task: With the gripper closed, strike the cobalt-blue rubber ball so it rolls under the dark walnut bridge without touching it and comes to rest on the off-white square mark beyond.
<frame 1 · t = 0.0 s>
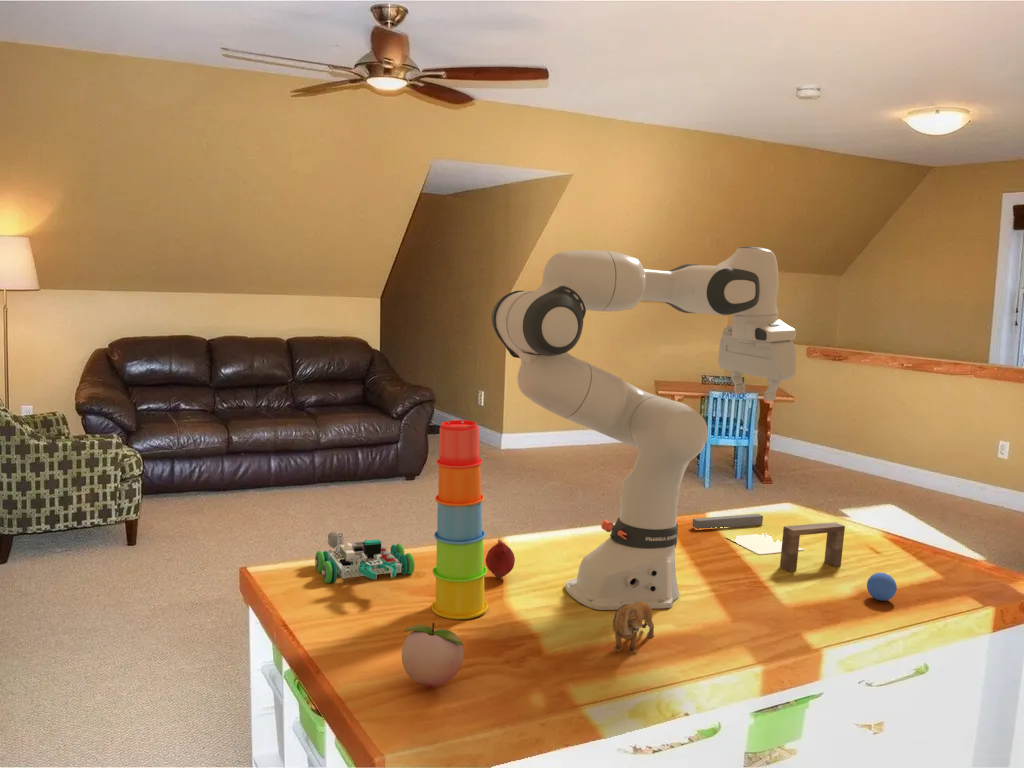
hand: (754, 396, 176), 39 cm above the kitchen island, tool pointing down, fingers open, 8 cm apart
stacking cups: (459, 610, 158), on the kitchen island
robot kit: (370, 581, 171), on the kitchen island
bridge: (810, 566, 192), on the kitchen island
onion: (499, 578, 175), on the kitchen island
lion figurine: (633, 647, 146), on the kitchen island
ball: (881, 586, 173), on the kitchen island
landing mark: (763, 544, 206), on the kitchen island
decorative fruit: (430, 689, 128), on the kitchen island
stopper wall: (727, 526, 219), on the kitchen island
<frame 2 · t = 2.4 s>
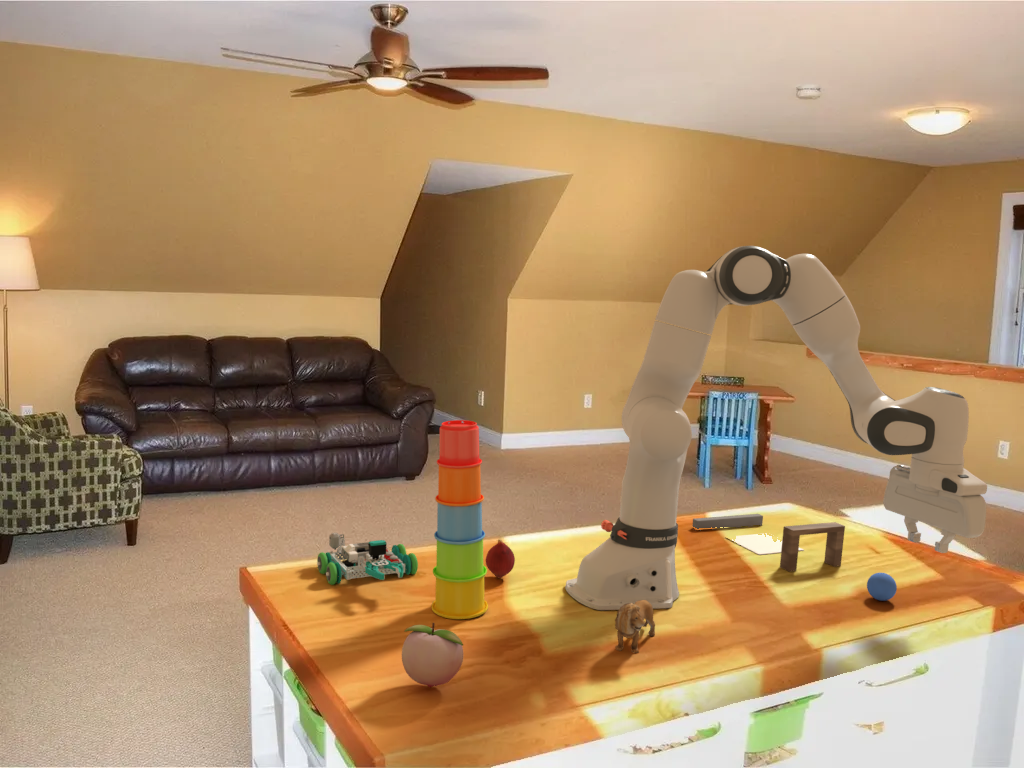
hand: (927, 546, 163), 14 cm above the kitchen island, tool pointing down, fingers open, 5 cm apart
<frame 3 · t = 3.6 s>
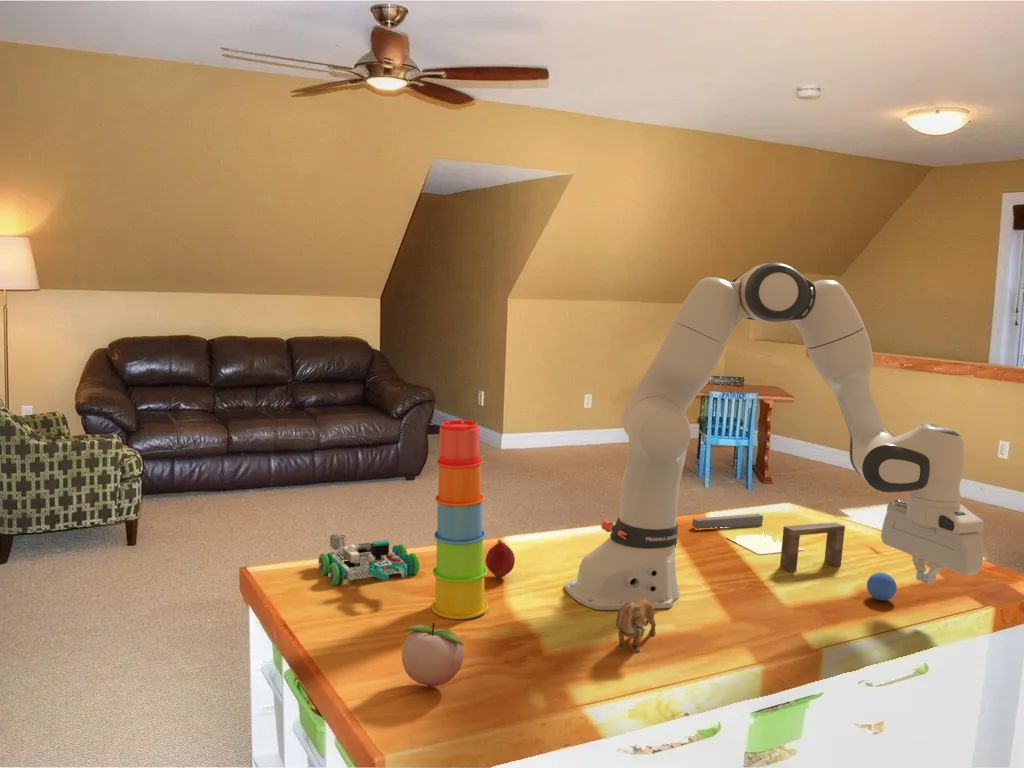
hand: (925, 581, 164), 7 cm above the kitchen island, tool pointing down, fingers closed
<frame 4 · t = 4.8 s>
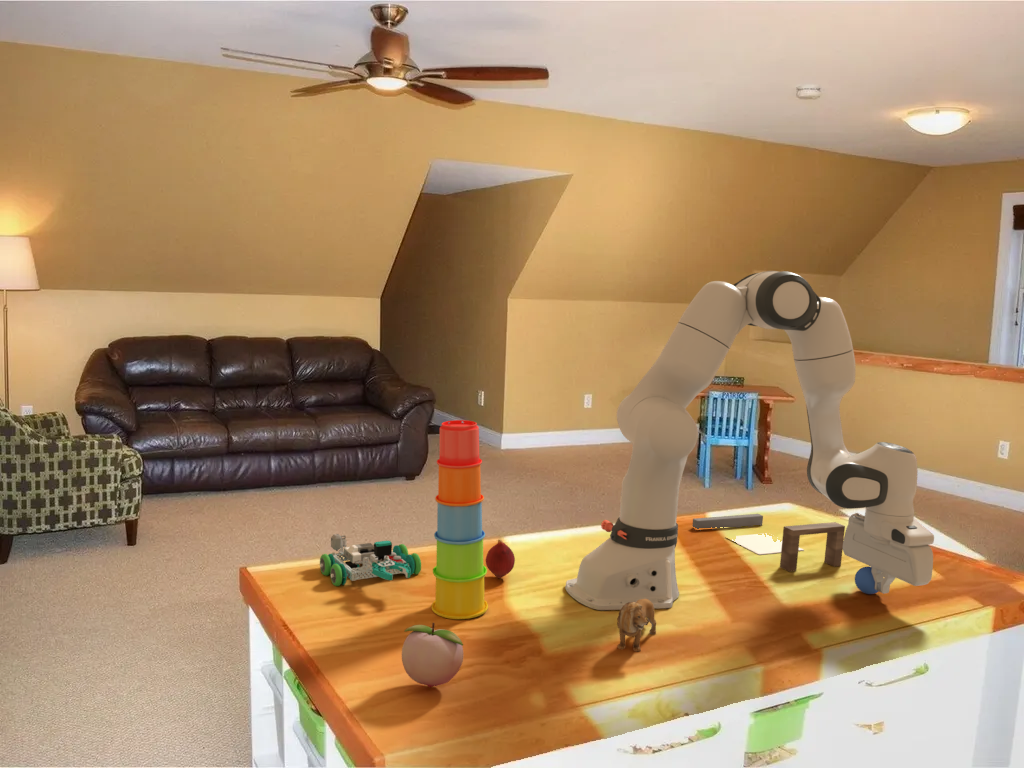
hand: (881, 591, 173), 2 cm above the kitchen island, tool pointing down, fingers closed
ball: (869, 580, 177), on the kitchen island, touching gripper
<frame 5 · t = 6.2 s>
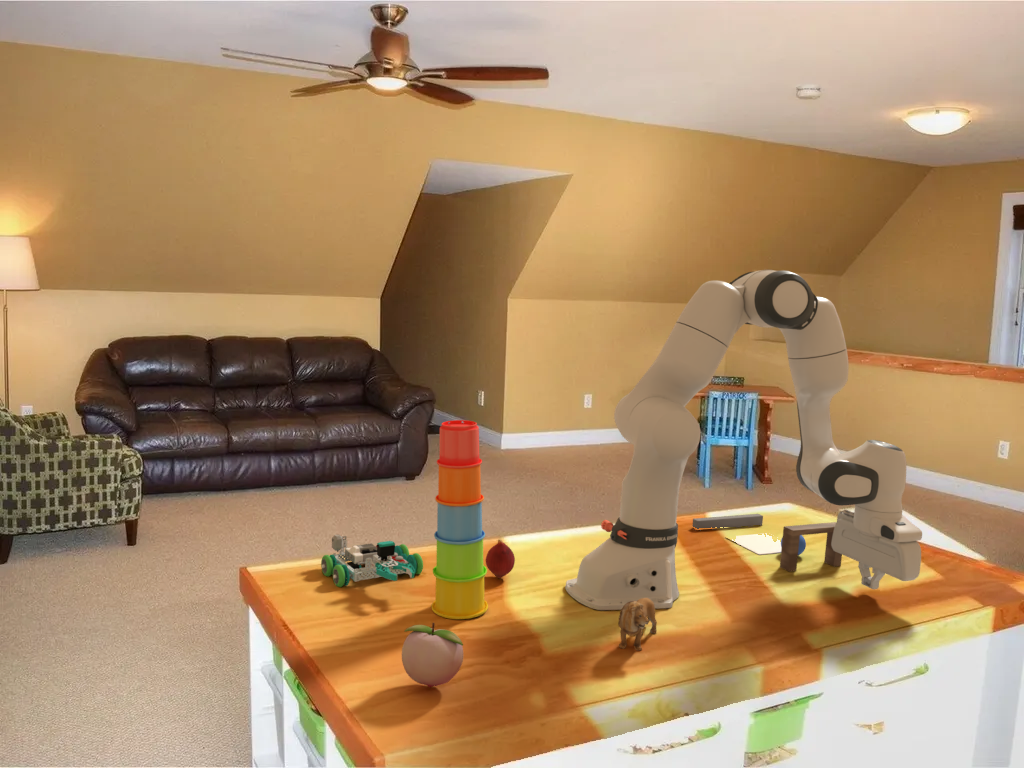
hand: (869, 586, 176), 2 cm above the kitchen island, tool pointing down, fingers closed
ball: (793, 543, 199), on the kitchen island
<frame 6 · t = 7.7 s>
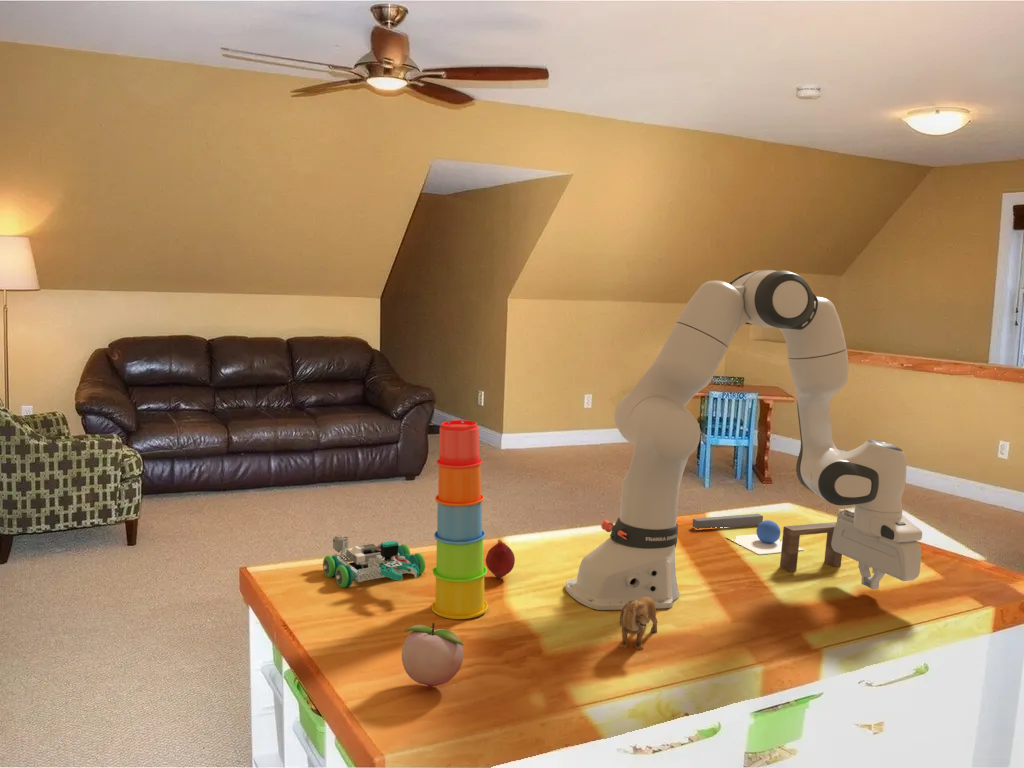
hand: (869, 586, 176), 2 cm above the kitchen island, tool pointing down, fingers closed
ball: (768, 531, 207), on the kitchen island
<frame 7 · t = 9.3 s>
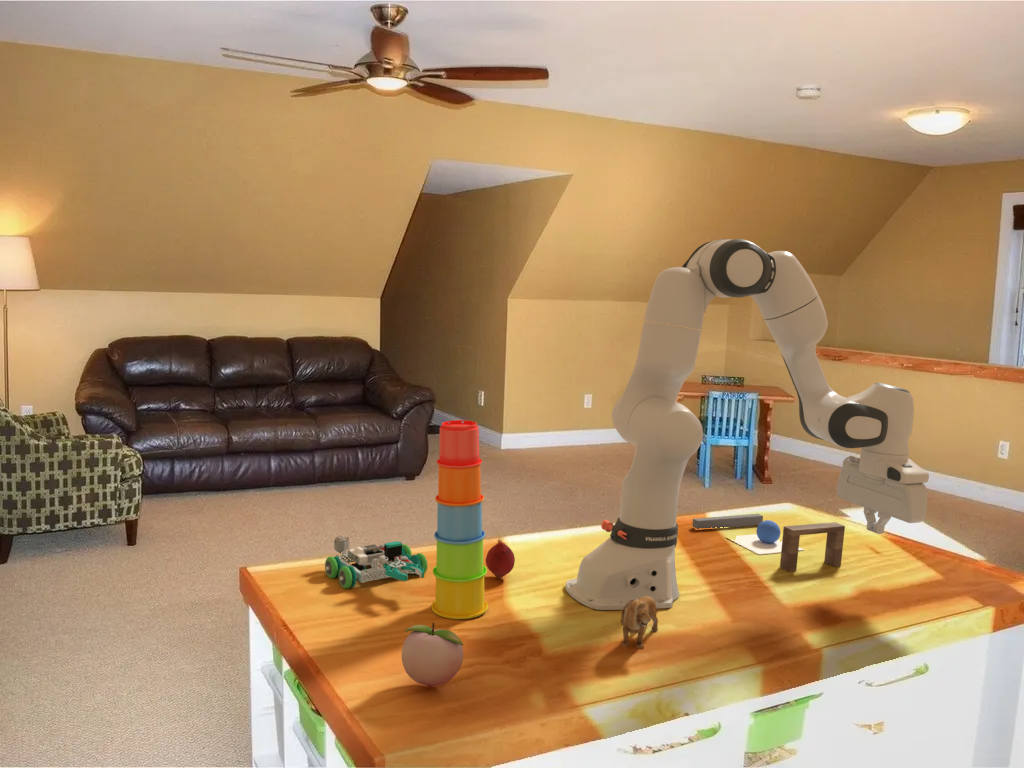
hand: (874, 531, 175), 13 cm above the kitchen island, tool pointing down, fingers closed
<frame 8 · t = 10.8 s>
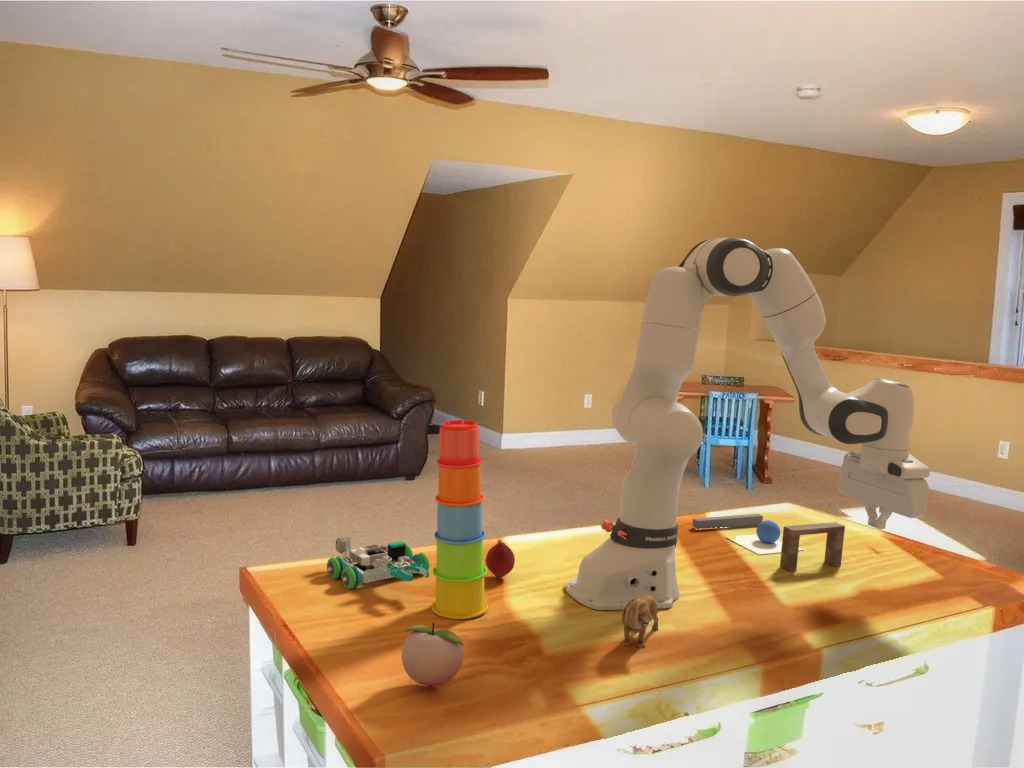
hand: (876, 527, 175), 14 cm above the kitchen island, tool pointing down, fingers closed
at the end: ball 1.5 cm from the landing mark (horizontally); ball never touched bridge; ball at rest at the end (0.0 cm/s) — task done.
